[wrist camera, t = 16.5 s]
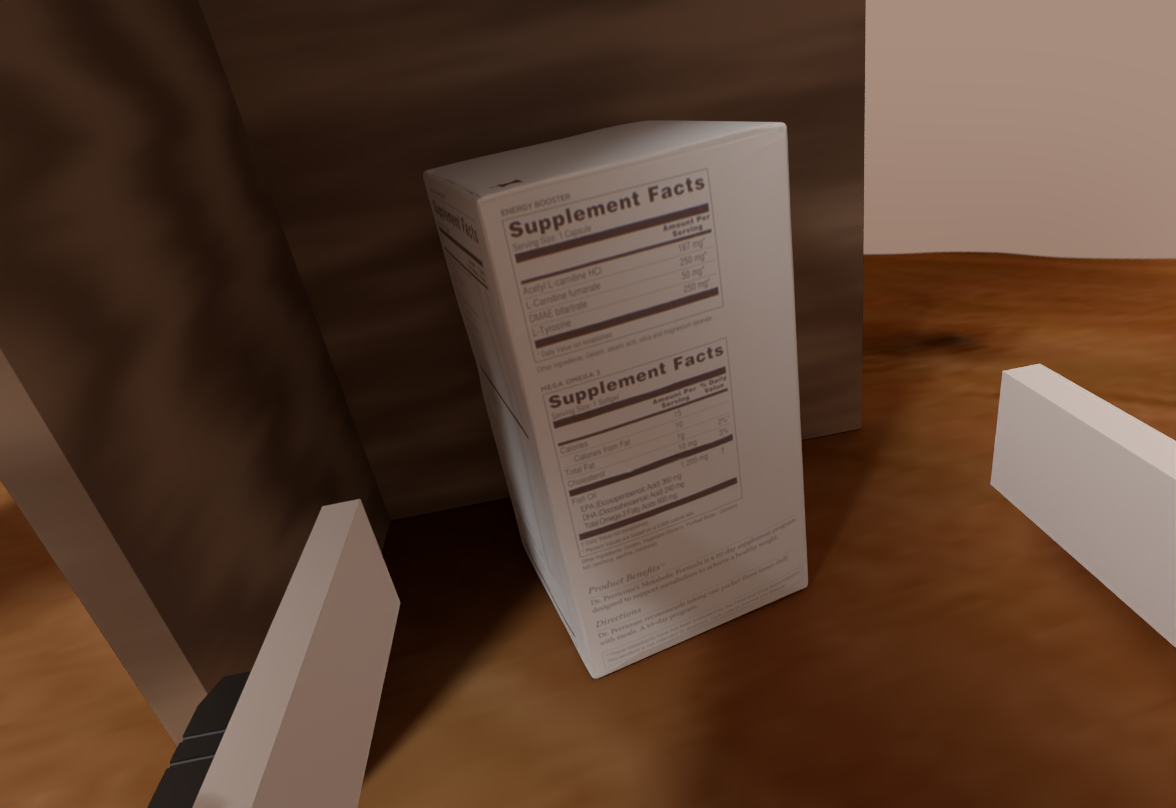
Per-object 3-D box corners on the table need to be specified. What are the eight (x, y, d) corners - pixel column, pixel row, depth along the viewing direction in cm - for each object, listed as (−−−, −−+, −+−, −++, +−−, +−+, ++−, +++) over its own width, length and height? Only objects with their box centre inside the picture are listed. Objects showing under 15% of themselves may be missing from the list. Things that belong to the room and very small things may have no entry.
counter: (1106, 687, 21) (1646, -1594, 7) (249, 857, 21) (-1046, -1104, 7) (849, 415, 37) (848, -424, 23) (367, 509, 37) (65, -275, 23)
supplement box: (816, 590, 26) (803, 116, 19) (593, 690, 24) (475, 195, 16) (692, 474, 35) (649, 113, 27) (517, 540, 32) (415, 165, 25)
